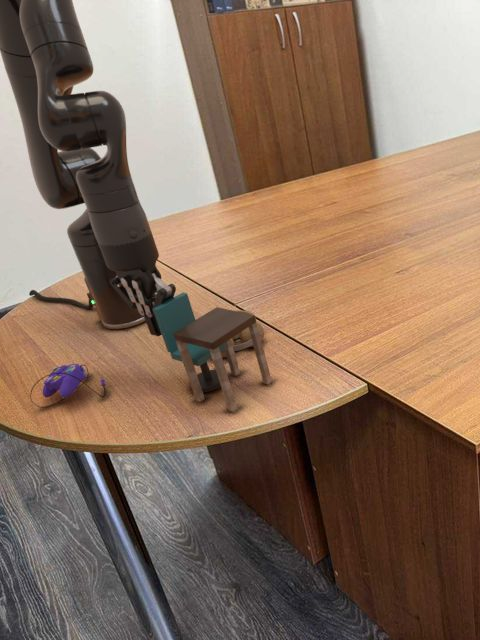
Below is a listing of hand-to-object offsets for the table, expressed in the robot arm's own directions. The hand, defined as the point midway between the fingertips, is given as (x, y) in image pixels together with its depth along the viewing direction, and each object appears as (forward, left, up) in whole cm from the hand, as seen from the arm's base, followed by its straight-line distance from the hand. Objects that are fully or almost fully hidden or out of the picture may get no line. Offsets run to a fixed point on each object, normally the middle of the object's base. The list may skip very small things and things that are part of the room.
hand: (159, 333), depth 107 cm
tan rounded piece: (+2, +12, -8) cm, 14 cm away
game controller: (-11, -10, -8) cm, 17 cm away
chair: (+8, 0, -8) cm, 12 cm away
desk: (+14, 0, -8) cm, 16 cm away
